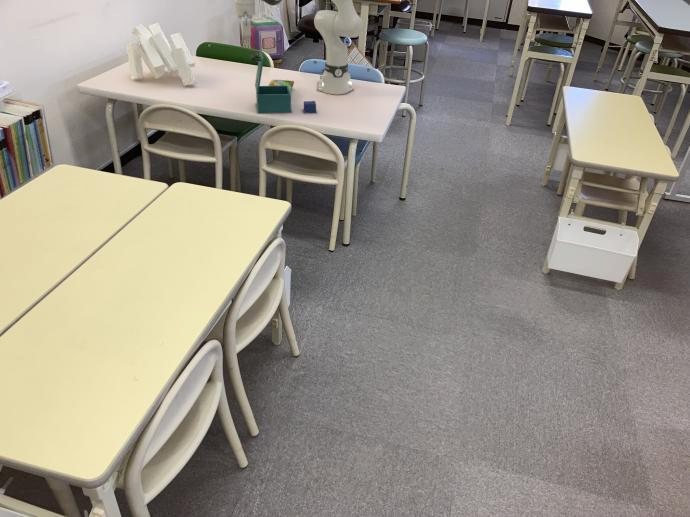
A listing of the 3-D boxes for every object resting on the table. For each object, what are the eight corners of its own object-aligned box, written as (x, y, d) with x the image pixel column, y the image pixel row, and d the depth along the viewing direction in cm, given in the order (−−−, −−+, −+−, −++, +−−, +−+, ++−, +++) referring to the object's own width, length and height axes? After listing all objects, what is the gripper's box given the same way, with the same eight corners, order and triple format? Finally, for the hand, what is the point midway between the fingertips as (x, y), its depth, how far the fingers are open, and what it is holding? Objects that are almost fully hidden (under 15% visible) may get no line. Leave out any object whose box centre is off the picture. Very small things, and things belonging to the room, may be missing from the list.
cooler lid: (261, 51, 258) (251, 48, 256) (263, 59, 248) (252, 56, 246) (256, 85, 267) (246, 83, 265) (258, 94, 257) (247, 92, 255)
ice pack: (303, 110, 268) (303, 101, 266) (314, 109, 269) (315, 101, 267) (304, 113, 265) (304, 104, 262) (316, 112, 266) (316, 104, 263)
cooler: (288, 103, 275) (288, 85, 270) (291, 112, 265) (290, 94, 260) (256, 103, 272) (255, 85, 267) (258, 113, 262) (257, 95, 257)
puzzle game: (264, 90, 274) (271, 77, 290) (265, 99, 277) (272, 86, 293) (288, 92, 274) (294, 79, 290) (288, 101, 276) (294, 88, 293)
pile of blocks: (208, 85, 304) (189, 19, 297) (193, 80, 275) (172, 7, 268) (149, 101, 307) (129, 36, 299) (128, 98, 278) (104, 26, 270)
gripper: (253, 15, 232) (254, 49, 240) (250, 4, 248) (252, 36, 257) (238, 15, 231) (240, 49, 239) (236, 4, 247) (238, 36, 255)
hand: (246, 42), depth 248 cm, fingers open, 8 cm apart
